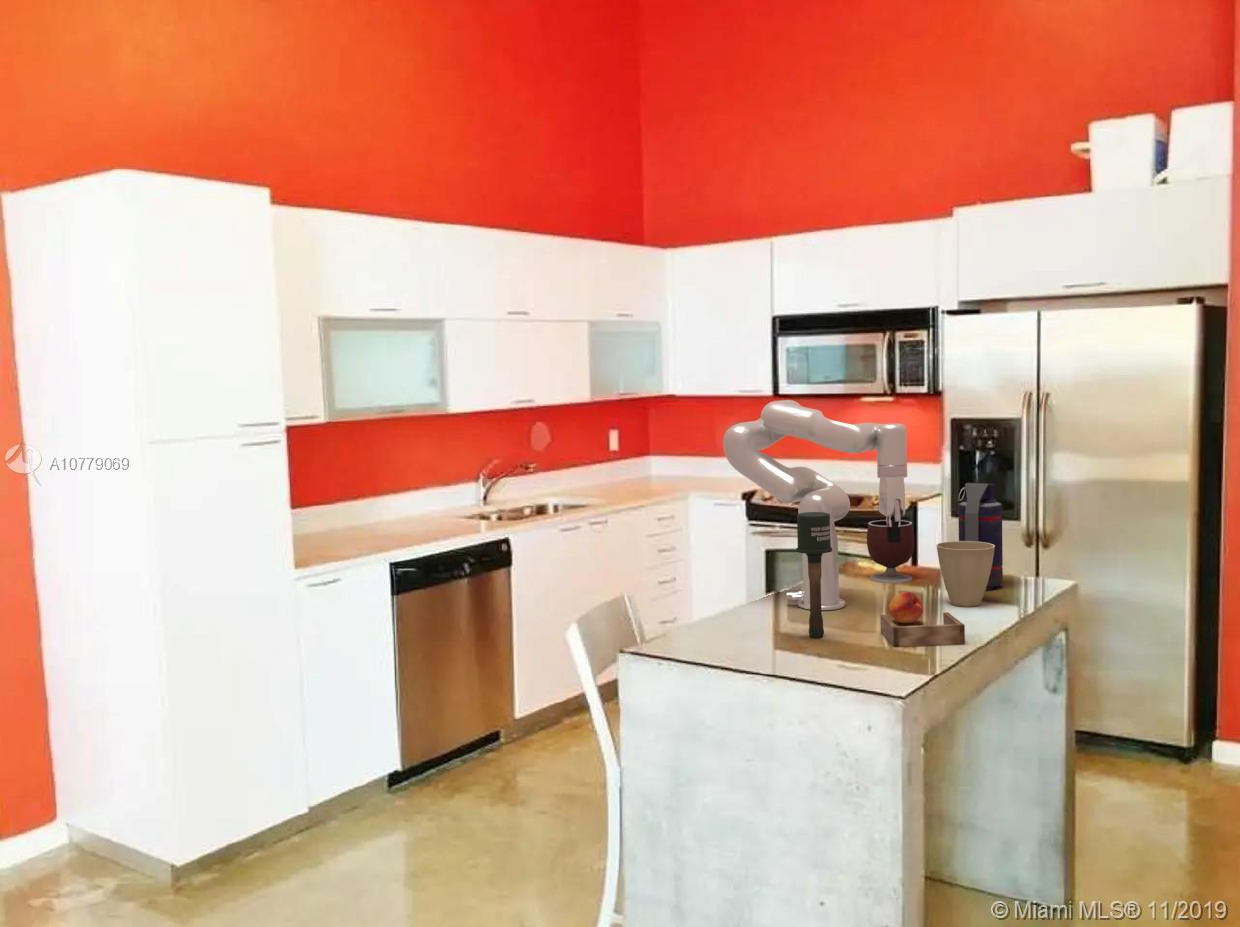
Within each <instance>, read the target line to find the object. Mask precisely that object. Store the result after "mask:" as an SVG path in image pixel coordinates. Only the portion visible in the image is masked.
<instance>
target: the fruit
mask: <svg viewBox="0 0 1240 927" xmlns="http://www.w3.org/2000/svg"><path fill="white" fill-rule="evenodd" d="M888 613H889V615H890V616H891V617H892V618H893V619H894V622H896V623H900V624H911V623H914V622H916V621H919V619H920V618H921V616H922V615H923V613H924V606H923V603H922V601H921V599H920V598H919V597H918V596H917V594H915V593H913V592H911V591H903V592H900V593H898V594H897V595H895V596H894V597H893V598H892V599H891V600H890V602H889V605H888Z"/></svg>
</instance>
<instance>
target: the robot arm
mask: <svg viewBox="0 0 1240 927" xmlns="http://www.w3.org/2000/svg"><path fill="white" fill-rule="evenodd" d="M786 436H790V437H793V438H798V439H802V440H806V441H810V442H812V443H813V444H816V445H818V446H820V447H823V448H827V449H830V450H833V451H838V452H841V453H847V454H854V455H856V454H860V453H866V452H871V451H876V466H877V468H876V469H877V470H876V471H877V472H876V473H877V475H876V476H877V478H878V479H879V483H878V484H879V486H878V511H879V513H880V514H881V515H883V516H885V517H886V518H885V520H886V523H887V541H888V542H900V541H901V533H900V521H901V520H902V519H901V518H902V517H904V516H905V514H906V491H905V490H906V489H905V486H906V485H905V479H904V478H907V477H908V450H907V448H908V443H907V436H908V435H907V427H906V425H904V424H903V423H899V422H898V423H895V422H893V423H892V422H891V423H875V422H861V423H854V424H852V423H851V424H850V423H845V422H842V421H837V420H834V419H830V418H828V417H826V416H824V414H823V412H822V411H821V410H819V409H814V408H811V407H806V406H802V405H801V404H799V402H797V401H795V400H792V399H781V400H773V401H769V403H767V404H766V405H765V406H764V407H763V408H762V410H761V413H760V418H758V419H756V420H753V421H745V422H739V423H736V424H734V425H732V426H730V427H729V428H728V429H727V430H726V432H725V433H724V436H723V441H722V442H723V443H722V445H723V452H724V455H725V457H726V460H727V461H728V463H729V464H730V465H731V466H732V468H734V470H736V471H737V472H738V473H740V474H741V475H742V476H744V477H745V478H747V479H748V480H750V481H751V482H753V483H754V484H756V485H757V486H758V487H760V488H761V489H763V491H765V492H767V493H768V494H769V495H771V496H772V497H774V498H775V499H776V500H778V501H780V502H782V503H784V504H793V503H797V502H799V504H798V508H797V509H798V510H797V511H798V514H800V513H805V512H824V513H828V514H830V539H831V547H832V551H831V552H829V553H822V554H823V555H822V556H821V560H822V562H821V573H822V575H821V611H831V610H832V611H833V610H839V609H843V608H844V607H845V606H846V601H845V600H844V599H842V598H840V582H839V580H840V576H839V569H840V568H839V542H838V541H839V540H838V533H837V529H836V526H835V522H837V521H839V520H842V519H844V518H845V517H846V516H847V514H848V513H849V511H850V509H851V502H850V497H849V496H848V494H847V492H845V490H843V488H841V487H840V486H838V485H837V484H835V483H834V482H832V481H831V480H830V479H827V477H825V476H823V475H822V474H820V473H818V472H817V471H815V470H813V469H812V468H809V467H806V466H795V467H794V466H793V467H789V466H785V464H784V465H783V463H780V462H778V461H777V460H776V459H774V458H773V457H772V456H770V455H768V454H766V453H763V452H761V451H763V450H765V449H767V448H770V447H771V446H773V445H774V444H775V443H777V442H779V441H780V440H782V439H784V438H786ZM798 514H797V515H798ZM802 582H803V587H800V590H797V591H795V592H794V591H787V592H786V593H785V596H786V597H785V598H786V600H793V601H797V600H798V602H797V605H798V607H799V608H801V609H805V610H810V582H809V576H808V558H807V555H806V554H805V553H802Z"/></svg>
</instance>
